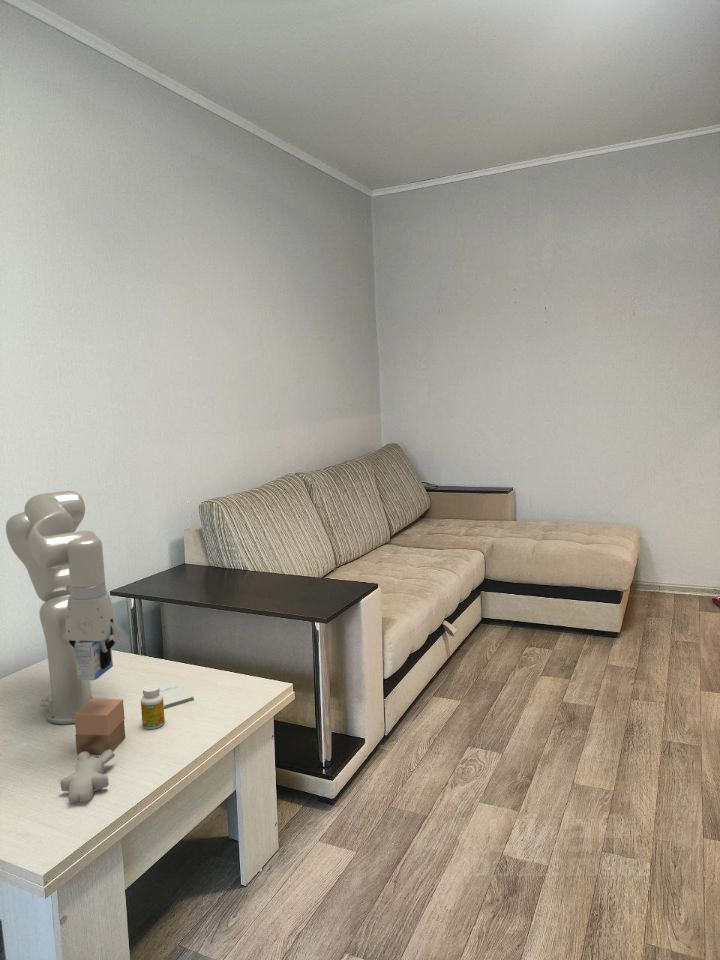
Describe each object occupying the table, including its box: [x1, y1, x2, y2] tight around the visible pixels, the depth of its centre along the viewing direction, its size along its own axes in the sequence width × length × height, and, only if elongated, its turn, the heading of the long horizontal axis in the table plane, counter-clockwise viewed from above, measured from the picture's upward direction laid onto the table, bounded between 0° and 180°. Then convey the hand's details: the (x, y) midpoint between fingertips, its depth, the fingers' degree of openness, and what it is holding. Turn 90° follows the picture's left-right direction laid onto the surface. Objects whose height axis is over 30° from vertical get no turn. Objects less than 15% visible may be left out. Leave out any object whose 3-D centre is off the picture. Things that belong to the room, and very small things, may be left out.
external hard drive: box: [159, 681, 195, 710], centre depth 190 cm, size 2×8×12 cm
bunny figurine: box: [59, 750, 116, 803], centre depth 148 cm, size 10×5×15 cm
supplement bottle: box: [140, 684, 166, 730], centre depth 173 cm, size 5×5×10 cm
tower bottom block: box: [75, 719, 126, 756], centre depth 164 cm, size 8×8×5 cm
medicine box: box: [75, 635, 114, 681], centre depth 161 cm, size 8×4×9 cm, turn 169°
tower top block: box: [74, 698, 126, 736], centre depth 164 cm, size 8×8×5 cm
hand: (95, 665), depth 161 cm, fingers closed on medicine box, 4 cm apart
